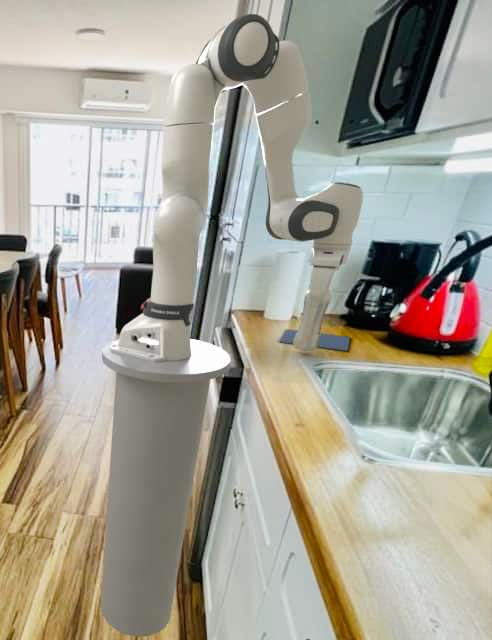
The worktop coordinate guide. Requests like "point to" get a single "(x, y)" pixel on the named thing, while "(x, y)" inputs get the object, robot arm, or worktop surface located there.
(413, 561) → the worktop surface
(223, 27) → the robot arm
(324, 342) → the cloth
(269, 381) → the worktop surface
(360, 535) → the worktop surface
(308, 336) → the plastic bottle
